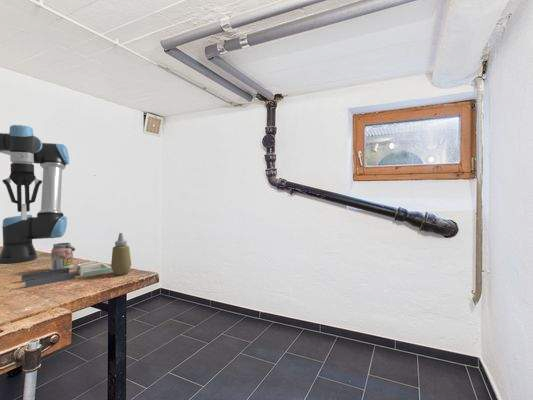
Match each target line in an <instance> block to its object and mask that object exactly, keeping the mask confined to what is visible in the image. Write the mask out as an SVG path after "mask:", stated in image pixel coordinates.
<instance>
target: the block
mask: <svg viewBox="0 0 533 400" xmlns="http://www.w3.org/2000/svg"><path fill="white" fill-rule="evenodd" d="M101 263H102V262H98V261H90V262H84V263H79V264H76V267H77V272H76V274H78V275H79V276H82V277H83V272H86V271H91V270H97V269H102V268H101Z"/></svg>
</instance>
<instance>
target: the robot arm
mask: <svg viewBox="0 0 533 400" xmlns="http://www.w3.org/2000/svg"><path fill="white" fill-rule="evenodd" d="M0 153H1V154H4V155H8V156H9V158H10V161H9V162H11V163H10V164H9V165H10V174H9V176H8V177H7V178H5V179H2V183H3V184H4V185H5V187H6V190H7V193H8V196H9V199H10V202H11V203H14V204H16V205H17V211H16V212H18V213H19V212H20V215H15V216H8V217H5V218H3V220H2V226H1V229H2V249H1V251H0V264H15V263H17V264H18V263H23V262H29V261H33V260H36V259H37V258H38V253H37V251H36V249H35V247H34V244H33V240H42V239H56V238H57V239H58V238H62V237H64V235H65V234H66V230H67V226H68V225H67V224H68V218H67V216H66V215H64V213H63V211H61V205H62V204H61V203H62V182H63V181H62V179H63V171H64V170H65V169H66V166H67V165H70V155H69V151H68V148H67V146H66V145H65V144H61V143H48V142H42V141H41V139H40V138H39V137H38V136H35V135H34V129H33V127H31V126H26V125H22V124H12V125H10V126H9V131H8V133H7V132H5V133H4V132H0ZM34 164H39V166H40V167H41V168H42V180H40V179H39V178H37V176H36V175H35V165H34ZM11 181H12V182H13V183H14V185H16V197H15V194H14V192H13V188H12V186H11ZM33 182H34V187H33V190H32V193H31V195H30V186H31V185H32V183H33ZM41 184H42V185H41ZM22 186H24V203H22V201H23V198H22V197H23V196H22ZM40 186H41V202H40V204H41V205H40V210H39V211H38V212H37V213H36V216H33V215H32V214H28V213H29V212H30V211H31V210H30V207H31V206H30V205H31V203H33V204H34V203H35V202H36V199H37V195H38V192H39V188H40ZM27 212H28V213H27Z"/></svg>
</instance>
